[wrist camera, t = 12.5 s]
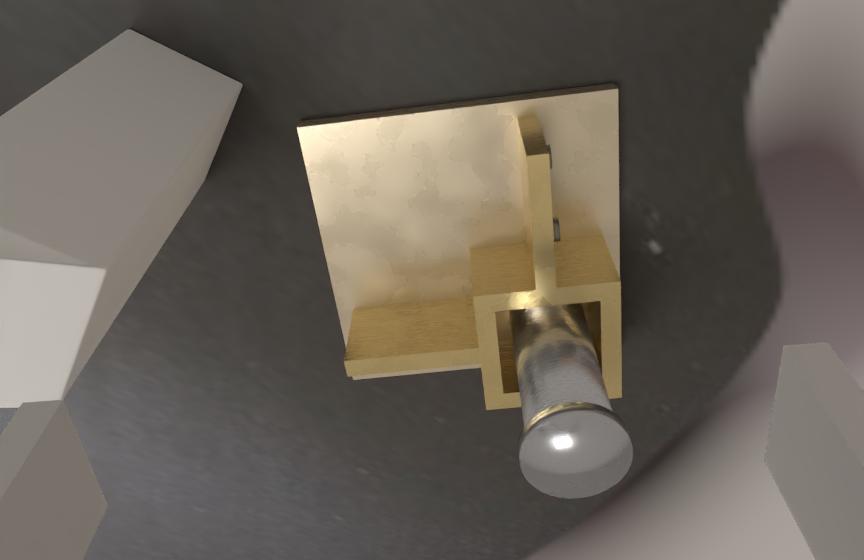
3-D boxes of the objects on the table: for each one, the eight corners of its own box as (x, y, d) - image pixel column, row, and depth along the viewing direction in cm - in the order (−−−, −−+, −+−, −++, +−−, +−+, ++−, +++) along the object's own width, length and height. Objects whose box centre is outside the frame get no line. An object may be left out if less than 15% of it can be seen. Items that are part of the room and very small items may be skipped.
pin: (503, 337, 46) (523, 502, 35) (497, 266, 44) (515, 419, 33) (586, 329, 46) (632, 493, 35) (584, 256, 43) (633, 409, 32)
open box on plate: (617, 344, 47) (638, 409, 42) (354, 369, 49) (344, 435, 43) (614, 82, 39) (640, 123, 34) (299, 120, 41) (279, 165, 35)
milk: (244, 82, 40) (70, 329, 21) (204, 181, 42) (18, 480, 23) (125, 25, 38) (-178, 233, 19) (92, 132, 41) (-203, 406, 22)
